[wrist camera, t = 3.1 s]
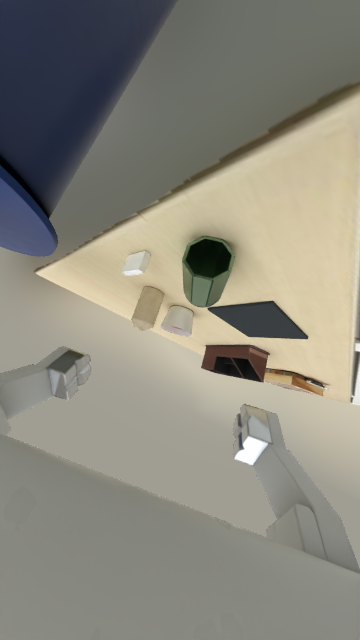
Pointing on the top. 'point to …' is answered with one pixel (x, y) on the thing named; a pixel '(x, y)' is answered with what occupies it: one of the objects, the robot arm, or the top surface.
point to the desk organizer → (236, 361)
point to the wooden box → (293, 382)
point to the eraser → (136, 263)
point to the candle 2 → (178, 321)
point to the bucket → (206, 270)
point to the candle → (147, 308)
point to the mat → (259, 320)
